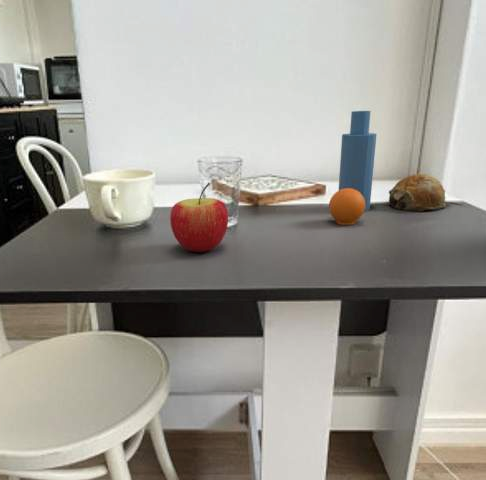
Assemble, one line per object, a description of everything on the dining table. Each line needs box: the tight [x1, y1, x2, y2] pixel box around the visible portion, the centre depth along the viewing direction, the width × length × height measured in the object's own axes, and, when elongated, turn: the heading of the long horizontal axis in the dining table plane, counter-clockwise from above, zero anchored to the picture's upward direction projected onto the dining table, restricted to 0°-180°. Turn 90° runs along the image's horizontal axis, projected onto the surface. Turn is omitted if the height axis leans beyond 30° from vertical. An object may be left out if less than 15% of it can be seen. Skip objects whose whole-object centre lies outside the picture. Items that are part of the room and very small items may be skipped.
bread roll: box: [388, 173, 447, 212], centre depth 85 cm, size 10×10×8 cm
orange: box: [328, 188, 365, 226], centre depth 76 cm, size 6×6×6 cm
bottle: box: [338, 110, 377, 213], centre depth 83 cm, size 6×6×18 cm
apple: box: [169, 182, 229, 253], centre depth 64 cm, size 8×8×10 cm
